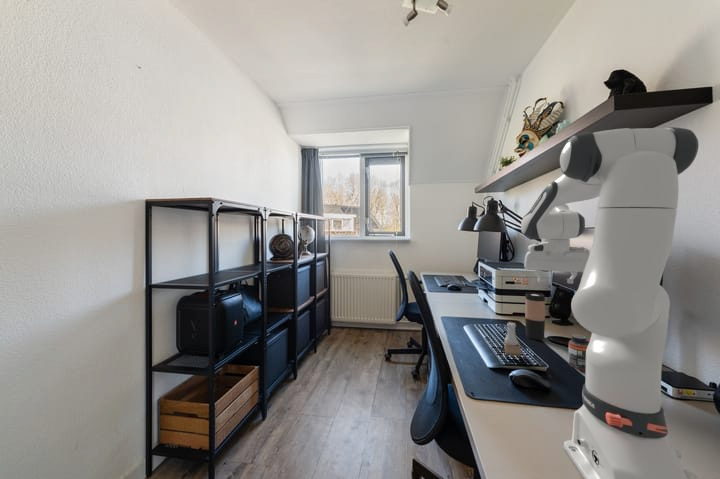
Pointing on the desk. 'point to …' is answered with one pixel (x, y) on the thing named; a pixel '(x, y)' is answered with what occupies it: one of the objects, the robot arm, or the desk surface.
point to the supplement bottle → (578, 352)
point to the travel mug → (535, 315)
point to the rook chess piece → (511, 335)
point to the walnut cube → (512, 349)
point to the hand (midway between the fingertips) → (554, 282)
